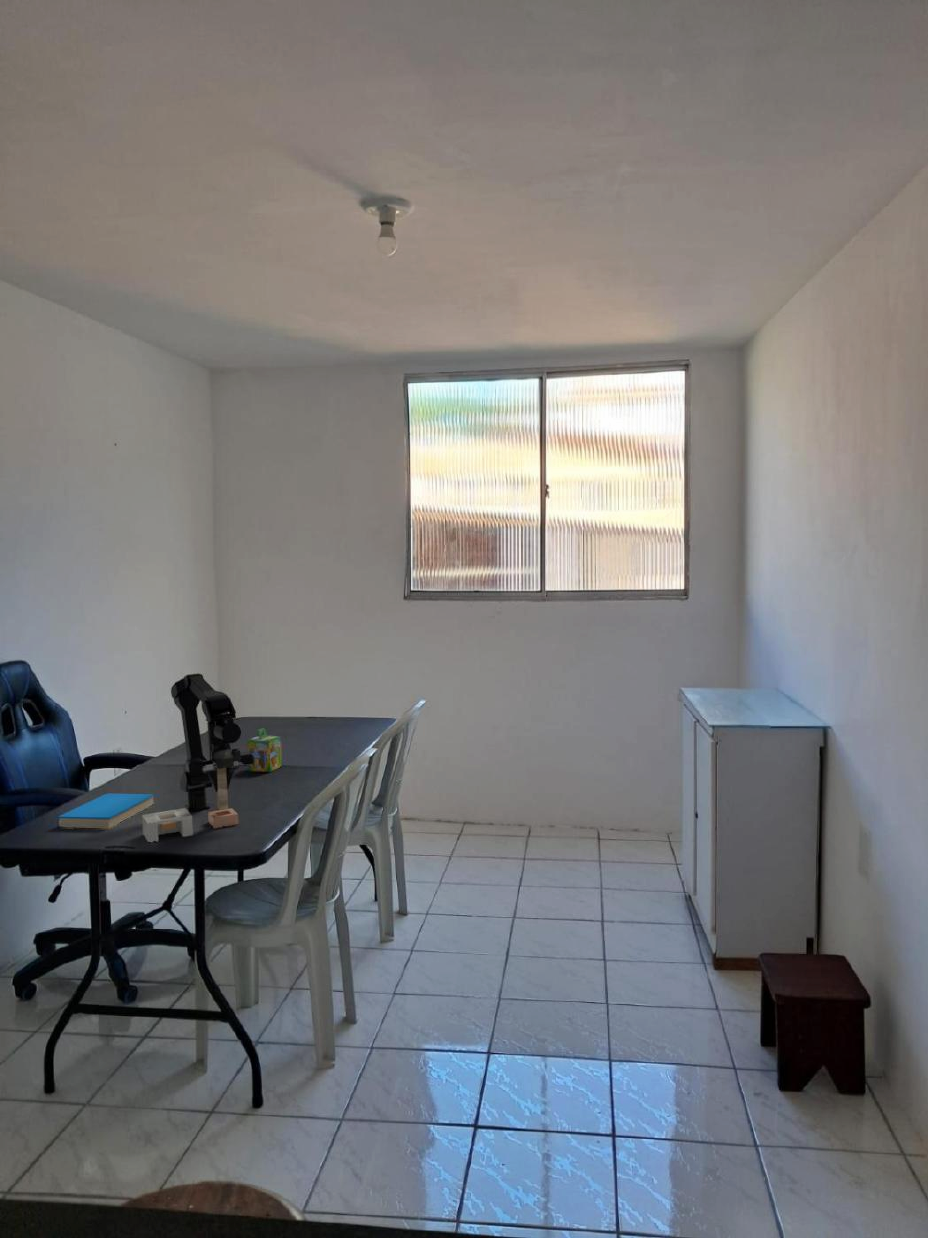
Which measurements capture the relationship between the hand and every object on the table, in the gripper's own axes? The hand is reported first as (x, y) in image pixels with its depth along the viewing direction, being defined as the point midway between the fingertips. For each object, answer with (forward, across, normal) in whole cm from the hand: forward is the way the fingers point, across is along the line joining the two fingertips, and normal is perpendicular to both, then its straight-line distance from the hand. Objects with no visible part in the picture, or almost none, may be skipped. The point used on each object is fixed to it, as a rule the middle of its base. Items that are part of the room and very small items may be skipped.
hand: (221, 791), depth 265 cm
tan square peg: (+5, 0, 0) cm, 5 cm away
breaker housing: (+10, -16, -3) cm, 19 cm away
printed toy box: (+10, +29, +58) cm, 66 cm away
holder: (+10, 0, 0) cm, 10 cm away
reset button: (+7, -16, -3) cm, 18 cm away
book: (+10, -28, +29) cm, 42 cm away
